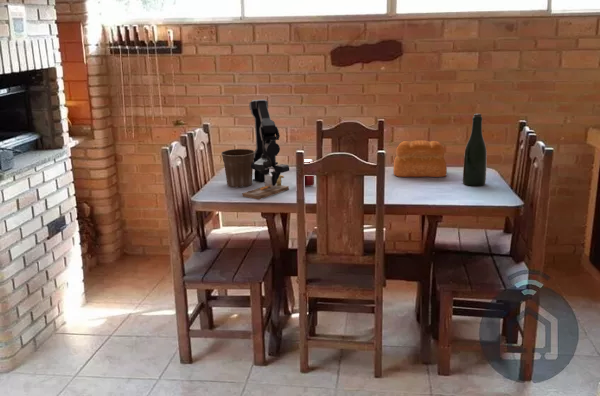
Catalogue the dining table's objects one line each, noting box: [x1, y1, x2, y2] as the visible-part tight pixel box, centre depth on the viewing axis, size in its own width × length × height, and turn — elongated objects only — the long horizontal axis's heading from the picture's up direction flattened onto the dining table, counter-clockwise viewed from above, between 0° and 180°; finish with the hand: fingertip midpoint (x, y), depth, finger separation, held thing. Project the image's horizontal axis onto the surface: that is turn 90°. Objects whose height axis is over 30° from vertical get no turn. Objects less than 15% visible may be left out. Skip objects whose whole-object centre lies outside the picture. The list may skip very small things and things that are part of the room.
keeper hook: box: [276, 174, 285, 186], centre depth 289 cm, size 2×4×5 cm, turn 53°
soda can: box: [304, 158, 315, 188], centre depth 294 cm, size 7×7×12 cm
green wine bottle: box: [462, 113, 488, 187], centre depth 286 cm, size 10×10×33 cm
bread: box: [392, 139, 448, 178], centre depth 310 cm, size 16×26×17 cm, turn 84°
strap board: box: [242, 184, 290, 200], centre depth 282 cm, size 21×10×2 cm, turn 143°
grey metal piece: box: [259, 173, 276, 190], centre depth 282 cm, size 8×4×6 cm, turn 143°
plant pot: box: [220, 148, 255, 188], centre depth 297 cm, size 16×16×16 cm
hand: (270, 185), depth 284 cm, fingers closed on grey metal piece, 4 cm apart
